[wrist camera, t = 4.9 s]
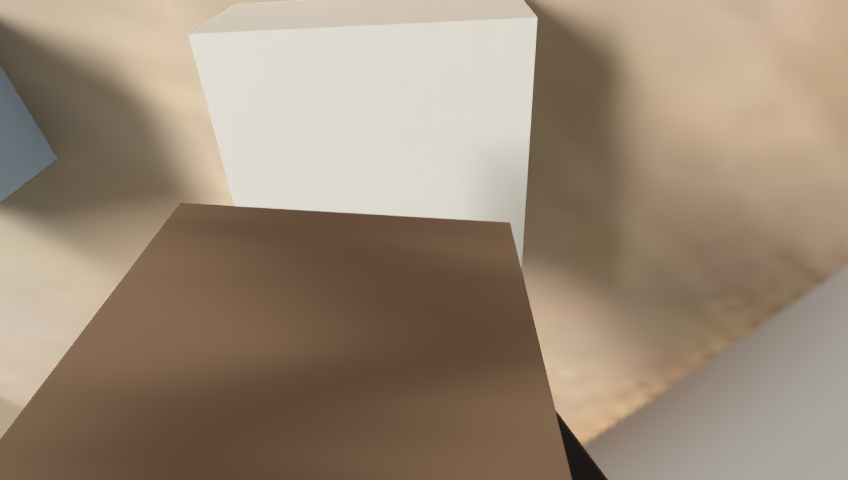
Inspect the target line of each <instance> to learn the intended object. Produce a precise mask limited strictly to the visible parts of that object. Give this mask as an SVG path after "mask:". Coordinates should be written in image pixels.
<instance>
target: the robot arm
mask: <svg viewBox="0 0 848 480" xmlns="http://www.w3.org/2000/svg"><path fill="white" fill-rule="evenodd" d="M555 411H556V410H555ZM556 415H557V420H558V424H559V428H560V432H561V436H562V440H563V444H564V449H565V453H566V457H567V461H568V465H569V469H570V473H571V477H572V480H608V479H607V478H606V477H605V475H604V474H603V473H602V472H601V470H600V469H599V468H598V466H597V465H596V463H595V462H594V461H593V460H592V458H591V457H590V455H589V454H588V453H587V452H586V450H585V449H584V447H583V446H582V445H581V443H580V442H579V441H578V439H577V438H576V437H575V436H574V434H573V433H572V432H571V430H570V429H569V428H568V426H567V425H566V424H565V422H564V421H563V420H562V418H561V417H560V416H559V414H558V413H557V412H556Z"/></svg>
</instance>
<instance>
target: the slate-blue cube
mask: <svg viewBox="0 0 848 480" xmlns="http://www.w3.org/2000/svg"><path fill="white" fill-rule="evenodd" d="M57 159H58V158H57V156H56V155H55V153H54V151H53V150H52V148H51V147H50V145H49V143H48V142H47V140H46V138H45V137H44V135H43V133H42V132H41V130H40V129H39V127H38V125H37V124H36V122H35V120H34V119H33V117H32V116H31V114H30V112H29V111H28V109H27V107H26V106H25V104H24V102H23V101H22V99H21V98H20V96H19V94H18V93H17V91H16V89H15V88H14V86H13V84H12V83H11V81H10V80H9V78H8V76H7V75H6V73H5V71H4V70H3V68H2V67H1V65H0V202H1V201H3V200H4V199H5V198H7V197H8V196H9V195H11V194H12V193H13V192H15V191H16V190H17V189H19V188H20V187H21V186H23V185H24V184H25V183H27V182H28V181H29V180H31V179H32V178H33V177H34V176H36V175H37V174H38V173H40V172H41V171H42V170H44V169H45V168H46V167H48V166H49V165H50V164H52V163H53V162H54V161H56V160H57Z"/></svg>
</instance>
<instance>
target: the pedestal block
mask: <svg viewBox="0 0 848 480" xmlns="http://www.w3.org/2000/svg"><path fill="white" fill-rule="evenodd" d="M537 20H538V17H537V16H536V15H535V14H534V12H533V11H532V10H531V9H530V7H529V6H528V5H527V4H526V2H525V1H524V0H293V1H272V2H252V3H235V4H233V5H232V6H230V7H229V8H227V9H225V10H224V11H222V12H221V13H219V14H218V15H216V16H215V17H213V18H212V19H210V20H209V21H207V22H206V23H204V24H203V25H201V26H199V27H198V28H196V29H195V30H193V31H192V32H190V33H189V34H188V36H189V40H190V43H191V47H192V51H193V55H194V58H195V62H196V66H197V69H198V73H199V77H200V81H201V84H202V88H203V92H204V95H205V99H206V103H207V107H208V110H209V114H210V118H211V121H212V125H213V129H214V133H215V136H216V140H217V144H218V147H219V151H220V155H221V159H222V162H223V166H224V170H225V173H226V177H227V181H228V185H229V188H230V192H231V196H232V199H233V203H234V206H238V207H255V208H272V209H289V210H306V211H323V212H340V213H357V214H374V215H390V216H407V217H424V218H441V219H458V220H475V221H492V222H509V223H510V225H511V229H512V233H513V237H514V241H515V246H516V250H517V254H518V258H519V262H520V266H521V270H522V255H523V240H524V224H525V208H526V193H527V177H528V161H529V145H530V130H531V114H532V98H533V83H534V67H535V51H536V35H537Z"/></svg>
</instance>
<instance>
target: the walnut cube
mask: <svg viewBox="0 0 848 480" xmlns="http://www.w3.org/2000/svg"><path fill="white" fill-rule="evenodd" d="M0 480H572V477H571V473H570V469H569V465H568V461H567V457H566V453H565V449H564V444H563V440H562V436H561V432H560V428H559V424H558V420H557V415H556V411H555V407H554V403H553V399H552V395H551V391H550V386H549V382H548V378H547V374H546V370H545V366H544V362H543V357H542V353H541V349H540V345H539V341H538V337H537V333H536V328H535V324H534V320H533V316H532V312H531V308H530V304H529V299H528V295H527V291H526V287H525V283H524V279H523V275H522V270H521V266H520V262H519V258H518V254H517V250H516V246H515V241H514V237H513V233H512V229H511V225H510V223H509V222H492V221H475V220H458V219H441V218H424V217H407V216H390V215H374V214H357V213H340V212H323V211H306V210H289V209H272V208H255V207H238V206H221V205H204V204H187V203H180V204H179V206H178V207H177V208H176V209H175V211H174V212H173V213H172V215H171V216H170V217H169V219H168V220H167V221H166V223H165V224H164V225H163V227H162V228H161V229H160V231H159V232H158V233H157V234H156V236H155V237H154V238H153V240H152V241H151V242H150V244H149V245H148V246H147V248H146V249H145V250H144V252H143V253H142V254H141V255H140V257H139V258H138V259H137V261H136V262H135V263H134V265H133V266H132V267H131V269H130V270H129V271H128V273H127V274H126V275H125V277H124V278H123V279H122V280H121V282H120V283H119V284H118V286H117V287H116V288H115V290H114V291H113V292H112V294H111V295H110V296H109V298H108V299H107V300H106V301H105V303H104V304H103V305H102V307H101V308H100V309H99V311H98V312H97V313H96V315H95V316H94V317H93V319H92V320H91V321H90V322H89V324H88V325H87V326H86V328H85V329H84V330H83V332H82V333H81V334H80V336H79V337H78V338H77V340H76V341H75V342H74V344H73V345H72V346H71V347H70V349H69V350H68V351H67V353H66V354H65V355H64V357H63V358H62V359H61V361H60V362H59V363H58V365H57V366H56V367H55V368H54V370H53V371H52V372H51V374H50V375H49V376H48V378H47V379H46V380H45V382H44V383H43V384H42V386H41V387H40V388H39V390H38V391H37V392H36V393H35V395H34V396H33V397H32V399H31V400H30V401H29V403H28V404H27V405H26V407H25V408H24V409H23V411H22V412H21V413H20V414H19V416H18V417H17V418H16V420H15V421H14V423H13V424H12V425H11V426H10V428H9V429H8V430H7V432H6V433H5V434H4V435H3V437H2V438H1V439H0Z"/></svg>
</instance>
